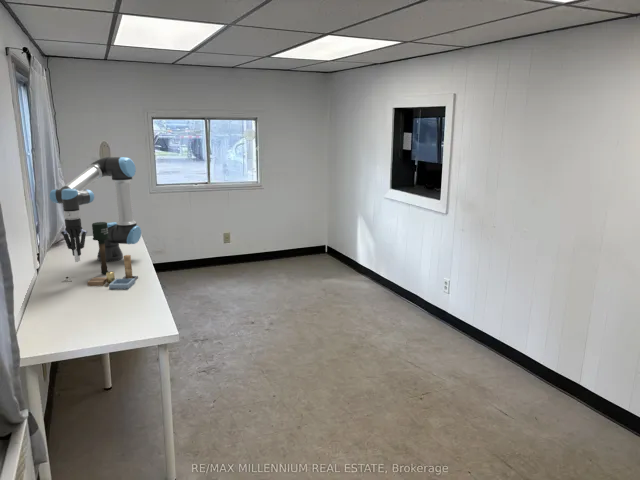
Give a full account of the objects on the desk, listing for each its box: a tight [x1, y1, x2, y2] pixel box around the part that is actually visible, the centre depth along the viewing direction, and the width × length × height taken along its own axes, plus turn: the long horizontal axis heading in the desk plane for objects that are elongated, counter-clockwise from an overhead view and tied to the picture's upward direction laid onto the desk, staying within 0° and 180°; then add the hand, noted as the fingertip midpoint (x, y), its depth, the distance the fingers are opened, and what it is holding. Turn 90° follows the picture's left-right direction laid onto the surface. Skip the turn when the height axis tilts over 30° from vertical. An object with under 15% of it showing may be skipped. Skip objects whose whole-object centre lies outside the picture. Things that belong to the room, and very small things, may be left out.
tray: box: [108, 278, 136, 290], centre depth 255 cm, size 10×10×2 cm
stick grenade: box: [91, 221, 109, 276], centre depth 271 cm, size 8×9×30 cm
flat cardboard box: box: [86, 276, 107, 287], centre depth 259 cm, size 8×8×2 cm
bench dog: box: [105, 270, 116, 285], centre depth 259 cm, size 4×4×6 cm
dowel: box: [123, 254, 134, 279], centre depth 263 cm, size 4×4×14 cm
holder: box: [121, 275, 139, 281], centre depth 265 cm, size 7×7×1 cm
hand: (77, 261), depth 256 cm, fingers closed
